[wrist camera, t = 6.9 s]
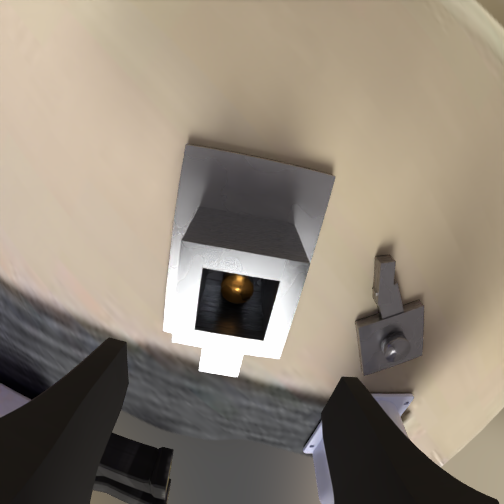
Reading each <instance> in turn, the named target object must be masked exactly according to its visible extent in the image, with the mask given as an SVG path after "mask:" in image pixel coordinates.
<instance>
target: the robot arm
mask: <svg viewBox="0 0 504 504" xmlns="http://www.w3.org/2000/svg"><path fill="white" fill-rule="evenodd" d="M128 384H129V381H128V366H127V343H126V342H124V341H120V340H117V339H113V338H108V339H106V340H105V341H104V342H103V343H102V344H101V345H100V346H99V347H98V348H96V349H95V350H94V351H93V352H92V353H91V354H90V355H89V356H88V357H86V358H85V359H84V360H83V361H82V362H81V363H80V364H78V365H77V366H76V367H75V368H74V369H72V370H71V371H70V372H69V373H68V374H67V375H65V376H64V377H63V378H62V379H60V380H59V381H58V382H56V383H55V384H54V385H52V386H51V387H50V388H48V389H47V390H46V391H44V392H43V393H41V394H40V395H38V396H37V397H35V398H34V399H32V400H31V401H29V402H28V403H26V404H24V405H23V406H21V407H19V408H17V409H16V410H14V411H12V412H10V413H8V414H6V415H4V416H2V417H0V504H90V499H91V495H92V490H93V486H94V482H95V478H96V474H97V470H98V466H99V463H100V460H101V458H102V455H103V453H104V450H105V448H106V445H107V443H108V440H109V438H110V435H111V433H112V430H113V428H114V426H115V423H116V421H117V418H118V416H119V413H120V411H121V409H122V405H123V402H124V398H125V395H126V391H127V387H128ZM413 399H414V396H413V394H371V393H370V392H369V391H368V390H367V388H366V387H365V386H364V385H363V383H362V382H361V381H360V380H359V379H358V378H356V377H341V379H340V381H339V383H338V385H337V386H336V388H335V390H334V392H333V394H332V395H331V397H330V399H329V401H328V402H327V404H326V406H325V407H324V409H323V411H322V413H321V416H322V420H321V422H320V424H319V425H318V427H317V428H316V430H315V431H314V433H313V435H312V436H311V438H310V439H309V441H308V442H307V444H306V445H305V447H304V448H303V452H304V453H313V460H314V467H315V473H316V480H317V487H318V494H319V499H320V502H321V504H499V502H498V500H497V499H494V498H492V497H490V496H487V495H485V494H483V493H481V492H479V491H476V490H475V489H473V488H471V487H469V486H467V485H466V484H464V483H462V482H461V481H459V480H457V479H456V478H454V477H453V476H451V475H450V474H449V473H447V472H446V471H444V470H443V469H442V468H440V467H439V466H438V465H437V464H435V463H434V462H433V461H432V460H431V459H429V458H428V457H427V456H426V455H425V454H424V453H423V452H422V451H421V450H419V449H418V448H417V447H416V446H415V445H414V444H413V443H412V442H411V441H410V439H409V438H408V435H407V432H406V430H405V427H404V425H403V422H402V420H401V417H400V416H401V415H402V414H403V412H404V411H405V410H406V408H407V407H408V406H409V404H410V403H411V402H412V400H413Z"/></svg>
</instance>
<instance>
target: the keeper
mask: <svg viewBox="0 0 504 504" xmlns="http://www.w3.org/2000/svg"><path fill="white" fill-rule="evenodd" d="M334 180H335V176H334V175H332V174H328V173H325V172H321V171H317V170H313V169H309V168H305V167H301V166H297V165H292V164H288V163H284V162H279V161H275V160H270V159H266V158H261V157H256V156H252V155H247V154H242V153H237V152H231V151H226V150H221V149H215V148H210V147H204V146H198V145H192V144H186V147H185V152H184V158H183V164H182V170H181V176H180V183H179V189H178V196H177V203H176V210H175V217H174V225H173V233H172V241H171V250H170V258H169V268H168V278H167V288H166V300H165V312H164V326H163V331H164V332H169V333H172V330H173V316H174V304H175V292H176V282H177V272H178V262H179V253H180V244H181V239H182V238H183V236H184V234H185V232H186V230H187V228H188V226H189V225H190V223H191V221H192V219H193V217H194V215H195V214H196V212H197V210H198V208H199V206H201V207H207V208H212V209H218V210H224V211H229V212H235V213H240V214H246V215H251V216H256V217H262V218H267V219H272V220H277V221H282V222H288V223H293V224H295V227H296V229H297V232H298V234H299V237H300V239H301V242H302V244H303V247H304V249H305V252H306V254H307V257H308V259H309V262H311V259H312V256H313V253H314V249H315V246H316V243H317V240H318V236H319V233H320V230H321V226H322V223H323V219H324V216H325V212H326V209H327V205H328V202H329V198H330V195H331V191H332V188H333V184H334ZM207 278H211V279H216V280H222V283H221V293H222V295H223V297H224V298H225V299H226V300H227V301H229V302H231V303H236V304H239V303H244V302H246V301H248V300H249V299H250V298H251V297H252V295H253V292H254V286H257V287H261V283H262V279H263V278H258V277H252V276H247V275H241V274H235V273H229V272H224V271H218V270H213V269H208V274H207ZM243 355H244V354H238V353H231V352H225V351H219V350H213V349H207V348H202V353H201V359H200V366H199V371H203V372H208V373H214V374H220V375H226V376H233V377H238V373H239V369H240V366H241V362H242V358H243Z"/></svg>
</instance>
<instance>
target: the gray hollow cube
mask: <svg viewBox="0 0 504 504" xmlns="http://www.w3.org/2000/svg"><path fill="white" fill-rule="evenodd" d="M309 266H310V262H309V259H308V257H307V254H306V252H305V249H304V247H303V244H302V242H301V239H300V237H299V234H298V232H297V229H296V227H295V224H293V223H288V222H282V221H277V220H272V219H267V218H262V217H256V216H251V215H246V214H240V213H235V212H229V211H224V210H218V209H212V208H207V207H201V206H199V208H198V210H197V212H196V214H195V215H194V217H193V219H192V221H191V223H190V225H189V226H188V228H187V230H186V232H185V234H184V236H183V238H182V239H181V244H180V253H179V262H178V272H177V282H176V292H175V304H174V316H173V330H172V342H175V343H180V344H185V345H190V346H196V347H201V348H207V349H213V350H219V351H225V352H231V353H238V354H245V355H252V356H259V357H267V358H275V359H280V356H281V353H282V350H283V347H284V344H285V341H286V338H287V335H288V332H289V329H290V326H291V323H292V320H293V317H294V314H295V311H296V308H297V305H298V302H299V298H300V295H301V292H302V289H303V286H304V282H305V279H306V276H307V272H308V269H309ZM208 269H213V270H218V271H224V272H229V273H235V274H241V275H247V276H252V277H258V278H263V279H262V283H261V287H257V286H254V292H253V295H252V297H251V298H250V299H249V300H248V301H246V302H244V303H239V304H236V303H231V302H229V301H227V300H226V299H225V298H224V297H223V295H222V293H221V283H222V280H216V279H211V278H207V274H208Z"/></svg>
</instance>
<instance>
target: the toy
mask: <svg viewBox="0 0 504 504" xmlns="http://www.w3.org/2000/svg"><path fill="white" fill-rule="evenodd" d="M29 401H31V399H29V398H27V397H25V396H23V395H21V394H20V393H18V392H16V391H14V390H12V389H10V388H9V387H7V386H5V385H3V384H2V383H0V417H2V416H4V415H6V414H8V413H10V412H12V411H14V410H16V409H17V408H19V407H21V406H23V405H24V404H26V403H28V402H29ZM172 456H173V449H169V448H165V447H162V448H159V449H157V448H155V447H152V446H149V445H145V444H142V443H139V442H136V441H133V440H130V439H128V438H125V437H122V436H119V435H117V434H114V433H111V435H110V438H109V440H108V443H107V445H106V448H105V450H104V453H103V455H102V458H101V460H100V463H99V466H98V470H97V474H96V478H95V482H94V486H93V490H95V491H100V492H105V493H107V494H109V495H111V496H113V497H116V498H118V499H120V500H122V501H124V502H126V503H128V504H167V502H168V496H169V490H170V483H171V479H169V475H170V469H171V465H172Z"/></svg>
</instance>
